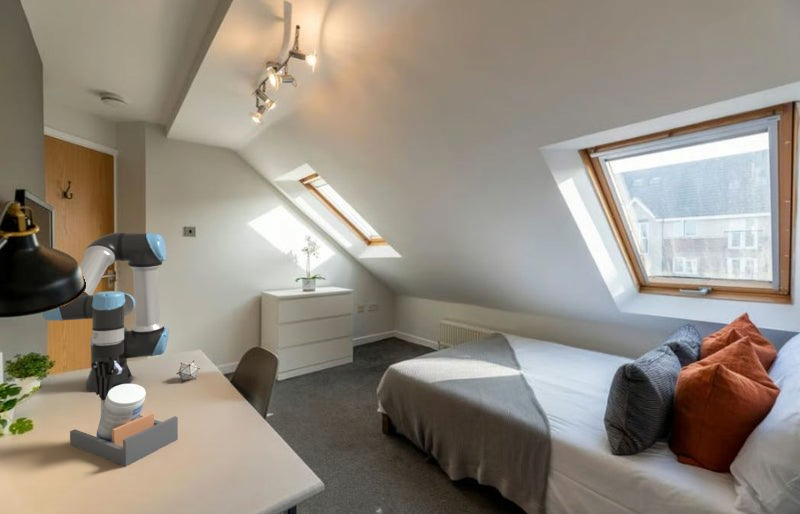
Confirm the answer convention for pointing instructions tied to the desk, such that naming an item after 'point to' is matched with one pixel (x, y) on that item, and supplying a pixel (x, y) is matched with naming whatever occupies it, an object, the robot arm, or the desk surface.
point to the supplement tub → (120, 408)
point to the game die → (188, 371)
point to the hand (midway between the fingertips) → (106, 418)
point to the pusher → (132, 428)
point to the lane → (129, 442)
